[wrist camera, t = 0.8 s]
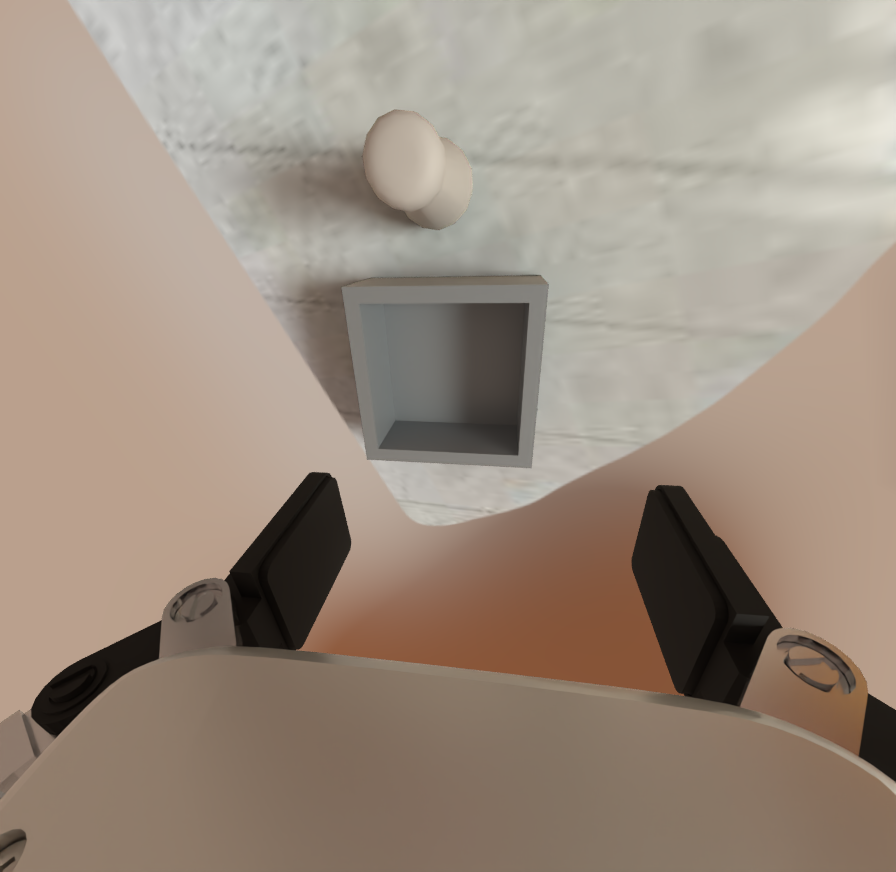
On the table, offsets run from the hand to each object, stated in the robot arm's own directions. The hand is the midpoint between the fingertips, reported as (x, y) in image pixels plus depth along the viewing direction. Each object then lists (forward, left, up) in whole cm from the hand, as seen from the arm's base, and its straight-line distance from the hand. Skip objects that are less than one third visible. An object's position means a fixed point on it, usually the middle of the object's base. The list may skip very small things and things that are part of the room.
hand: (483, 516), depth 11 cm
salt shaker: (-11, -5, -27) cm, 29 cm away
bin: (+3, -4, -26) cm, 27 cm away
